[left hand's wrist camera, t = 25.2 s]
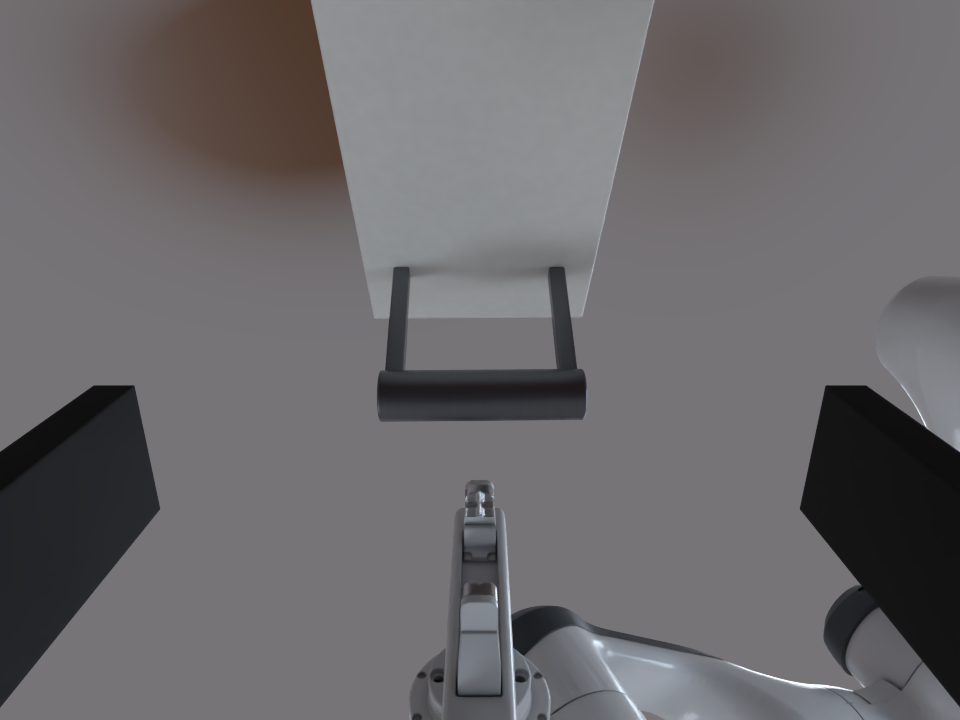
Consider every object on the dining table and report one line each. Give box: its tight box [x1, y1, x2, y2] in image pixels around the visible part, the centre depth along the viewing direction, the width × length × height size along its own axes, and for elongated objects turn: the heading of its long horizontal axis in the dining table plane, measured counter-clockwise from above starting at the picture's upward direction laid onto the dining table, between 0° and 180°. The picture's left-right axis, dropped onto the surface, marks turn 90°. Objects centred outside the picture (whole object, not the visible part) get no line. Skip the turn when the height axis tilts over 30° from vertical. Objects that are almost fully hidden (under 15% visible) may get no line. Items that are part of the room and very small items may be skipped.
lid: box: [311, 0, 654, 422], centre depth 22 cm, size 17×10×8 cm
